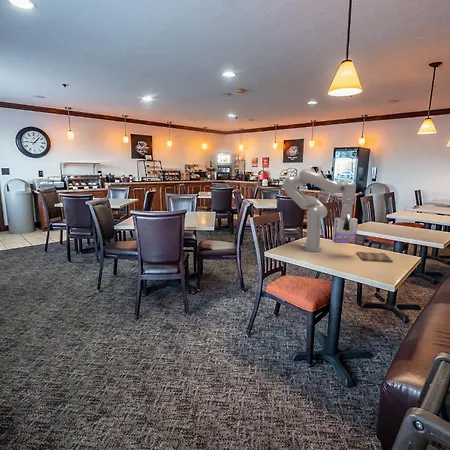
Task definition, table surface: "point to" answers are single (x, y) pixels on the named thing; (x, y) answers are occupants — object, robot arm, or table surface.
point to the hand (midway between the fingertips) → (345, 228)
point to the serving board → (374, 257)
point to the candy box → (344, 231)
